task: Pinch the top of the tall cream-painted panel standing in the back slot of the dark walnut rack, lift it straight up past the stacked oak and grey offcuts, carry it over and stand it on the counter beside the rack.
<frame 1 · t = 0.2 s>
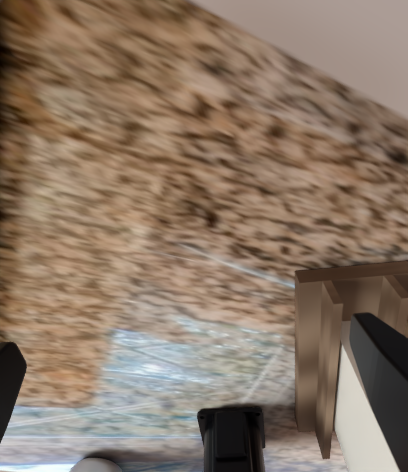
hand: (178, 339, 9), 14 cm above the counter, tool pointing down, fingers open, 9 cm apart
rack: (374, 349, 29), on the counter
plastic bottle: (100, 462, 39), on the counter
panel: (347, 365, 27), point 1 cm above the counter, touching rack
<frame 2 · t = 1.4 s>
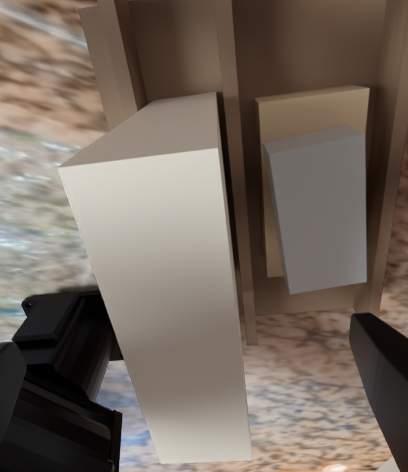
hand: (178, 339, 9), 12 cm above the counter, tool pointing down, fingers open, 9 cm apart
rack: (247, 179, 19), on the counter
panel: (199, 194, 18), point 1 cm above the counter, touching rack
grey offcut: (310, 206, 16), point 3 cm above the counter, touching oak offcut
oak offcut: (301, 182, 18), point 1 cm above the counter, touching grey offcut, rack
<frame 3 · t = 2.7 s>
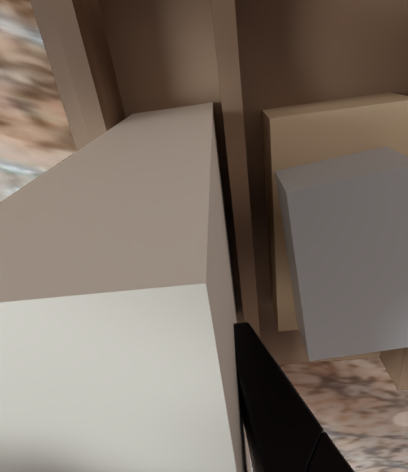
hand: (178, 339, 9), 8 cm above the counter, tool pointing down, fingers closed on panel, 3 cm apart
rack: (252, 207, 16), on the counter
panel: (192, 228, 14), point 2 cm above the counter, touching gripper, rack
grey offcut: (335, 248, 12), point 3 cm above the counter, touching oak offcut
oak offcut: (320, 214, 14), point 1 cm above the counter, touching grey offcut, rack
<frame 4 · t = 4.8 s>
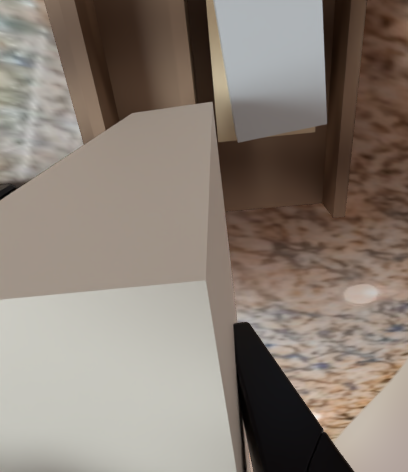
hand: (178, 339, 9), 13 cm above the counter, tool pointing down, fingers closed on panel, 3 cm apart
rack: (199, 37, 17), on the counter
panel: (192, 227, 14), point 6 cm above the counter, touching gripper
grey offcut: (264, 38, 14), point 3 cm above the counter, touching oak offcut
oak offcut: (258, 28, 15), point 1 cm above the counter, touching grey offcut, rack
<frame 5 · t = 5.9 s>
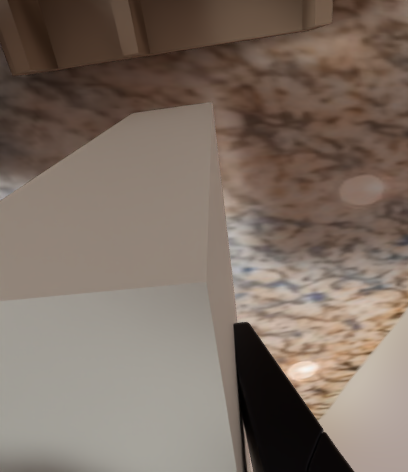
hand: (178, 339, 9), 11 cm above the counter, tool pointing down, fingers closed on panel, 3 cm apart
panel: (192, 228, 14), point 5 cm above the counter, touching gripper
when the fingers open (7 cm above the counter, at t = 6.9 s): panel drops 1 cm, on the counter.
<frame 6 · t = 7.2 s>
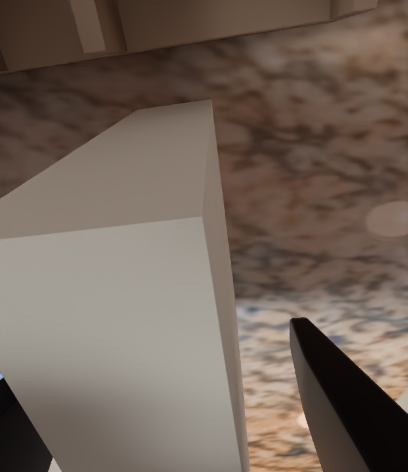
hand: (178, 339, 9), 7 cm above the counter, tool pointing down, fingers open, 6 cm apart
panel: (193, 217, 15), on the counter
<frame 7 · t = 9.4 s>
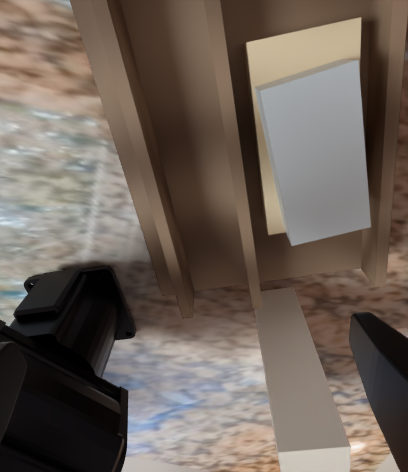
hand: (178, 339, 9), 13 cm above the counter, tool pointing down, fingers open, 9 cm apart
rack: (242, 137, 19), on the counter
panel: (278, 339, 26), on the counter
grey offcut: (308, 153, 15), point 3 cm above the counter, touching oak offcut
oak offcut: (298, 133, 17), point 1 cm above the counter, touching grey offcut, rack
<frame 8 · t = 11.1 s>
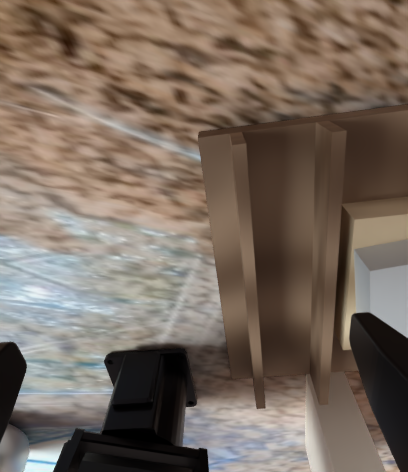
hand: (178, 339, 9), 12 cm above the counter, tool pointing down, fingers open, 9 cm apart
rack: (320, 259, 21), on the counter
plastic bottle: (3, 428, 32), on the counter
panel: (322, 411, 29), on the counter
grey offcut: (389, 295, 18), point 3 cm above the counter, touching oak offcut
oak offcut: (374, 268, 20), point 1 cm above the counter, touching grey offcut, rack
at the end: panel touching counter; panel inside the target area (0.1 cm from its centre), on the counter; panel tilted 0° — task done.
